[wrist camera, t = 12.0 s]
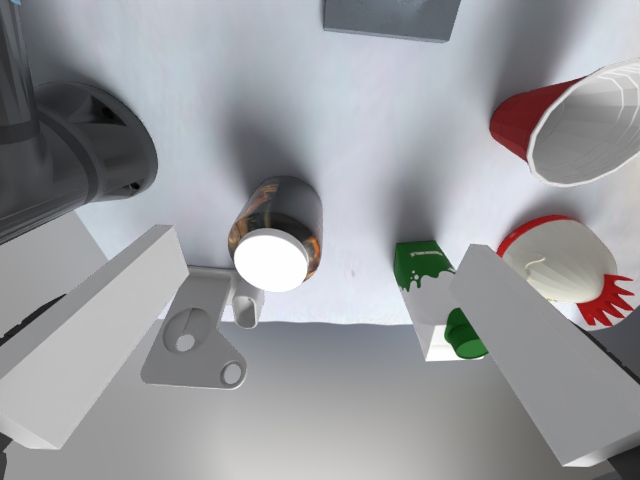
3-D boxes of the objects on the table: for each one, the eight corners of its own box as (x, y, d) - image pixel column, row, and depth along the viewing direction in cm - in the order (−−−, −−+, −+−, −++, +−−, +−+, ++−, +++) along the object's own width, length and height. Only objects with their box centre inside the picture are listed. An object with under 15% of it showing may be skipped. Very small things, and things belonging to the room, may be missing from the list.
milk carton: (441, 235, 41) (523, 335, 24) (432, 273, 46) (496, 378, 29) (391, 239, 41) (438, 338, 25) (388, 276, 46) (425, 380, 29)
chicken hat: (482, 274, 46) (542, 343, 33) (518, 212, 38) (614, 271, 26) (549, 278, 46) (634, 347, 33) (598, 217, 39) (732, 277, 26)
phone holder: (265, 272, 46) (237, 359, 31) (266, 306, 52) (242, 394, 36) (177, 264, 45) (104, 350, 30) (188, 299, 51) (130, 387, 36)
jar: (326, 178, 35) (327, 225, 23) (319, 241, 42) (318, 304, 29) (250, 172, 35) (209, 215, 22) (255, 236, 41) (225, 298, 29)
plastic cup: (462, 98, 30) (534, 100, 19) (558, 50, 27) (700, 24, 17) (472, 173, 35) (533, 205, 25) (554, 139, 32) (660, 160, 22)
